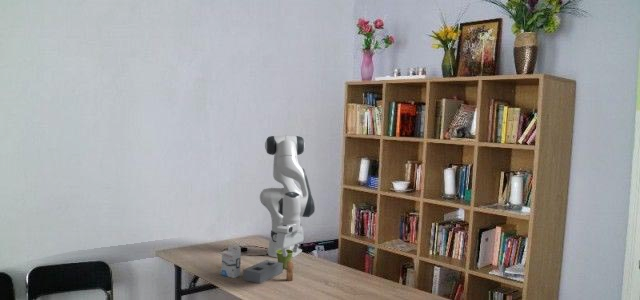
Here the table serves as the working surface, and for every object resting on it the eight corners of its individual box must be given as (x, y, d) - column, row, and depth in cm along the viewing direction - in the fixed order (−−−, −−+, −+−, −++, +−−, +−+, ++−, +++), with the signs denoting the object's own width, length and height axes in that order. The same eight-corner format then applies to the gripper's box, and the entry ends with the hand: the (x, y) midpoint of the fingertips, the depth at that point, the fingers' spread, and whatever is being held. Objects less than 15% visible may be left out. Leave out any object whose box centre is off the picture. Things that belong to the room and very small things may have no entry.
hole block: (266, 269, 246) (266, 259, 246) (282, 272, 242) (282, 263, 241) (243, 279, 228) (243, 269, 228) (260, 283, 224) (260, 273, 224)
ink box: (220, 275, 234) (221, 246, 234) (227, 272, 239) (228, 244, 238) (234, 278, 230) (234, 248, 229) (240, 275, 235) (241, 246, 234)
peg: (288, 278, 232) (288, 260, 232) (293, 279, 231) (294, 261, 231) (285, 280, 230) (285, 262, 229) (290, 281, 228) (291, 263, 228)
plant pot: (290, 271, 245) (290, 254, 245) (273, 269, 247) (273, 252, 246) (294, 265, 254) (295, 250, 254) (278, 264, 256) (278, 248, 256)
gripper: (296, 222, 240) (295, 249, 240) (274, 228, 221) (273, 257, 222) (307, 223, 237) (306, 250, 237) (285, 230, 219) (284, 259, 219)
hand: (290, 254), depth 229 cm, fingers open, 8 cm apart
